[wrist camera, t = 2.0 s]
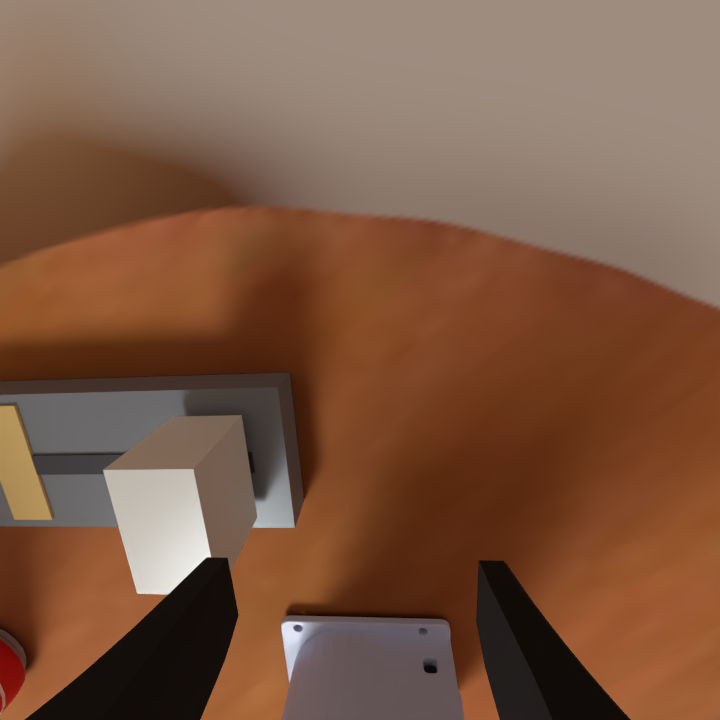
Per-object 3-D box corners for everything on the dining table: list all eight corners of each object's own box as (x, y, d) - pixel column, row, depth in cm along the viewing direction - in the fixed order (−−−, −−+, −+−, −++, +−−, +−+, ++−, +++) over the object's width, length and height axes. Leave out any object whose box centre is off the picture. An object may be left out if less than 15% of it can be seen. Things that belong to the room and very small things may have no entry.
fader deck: (289, 372, 17) (276, 388, 15) (304, 500, 19) (294, 529, 17) (-22, 382, 19) (-72, 397, 17) (21, 500, 21) (-19, 528, 19)
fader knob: (241, 415, 15) (193, 469, 12) (257, 517, 17) (218, 595, 13) (172, 416, 16) (102, 469, 12) (193, 516, 17) (137, 593, 13)
